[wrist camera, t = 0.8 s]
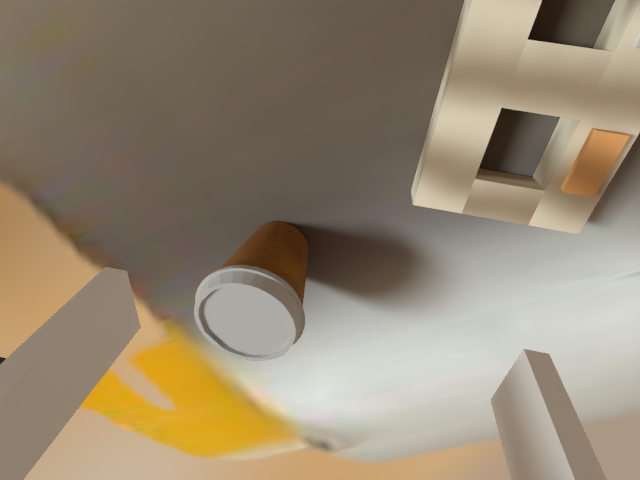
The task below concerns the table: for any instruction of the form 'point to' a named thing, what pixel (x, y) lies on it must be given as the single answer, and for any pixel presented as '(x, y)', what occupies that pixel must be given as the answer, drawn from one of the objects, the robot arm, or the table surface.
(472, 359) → the table surface
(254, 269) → the disposable coffee cup
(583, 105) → the socket plate
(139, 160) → the table surface
